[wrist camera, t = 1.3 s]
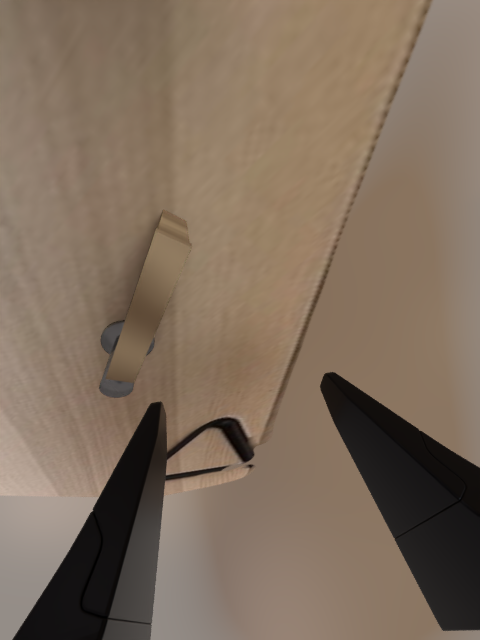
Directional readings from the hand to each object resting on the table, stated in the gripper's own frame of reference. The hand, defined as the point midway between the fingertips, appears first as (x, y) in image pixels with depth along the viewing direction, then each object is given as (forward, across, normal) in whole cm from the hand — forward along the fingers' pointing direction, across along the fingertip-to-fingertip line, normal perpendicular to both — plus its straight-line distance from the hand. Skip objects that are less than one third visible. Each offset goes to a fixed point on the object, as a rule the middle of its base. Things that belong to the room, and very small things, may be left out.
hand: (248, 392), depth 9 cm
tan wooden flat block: (+12, +5, 0) cm, 13 cm away
